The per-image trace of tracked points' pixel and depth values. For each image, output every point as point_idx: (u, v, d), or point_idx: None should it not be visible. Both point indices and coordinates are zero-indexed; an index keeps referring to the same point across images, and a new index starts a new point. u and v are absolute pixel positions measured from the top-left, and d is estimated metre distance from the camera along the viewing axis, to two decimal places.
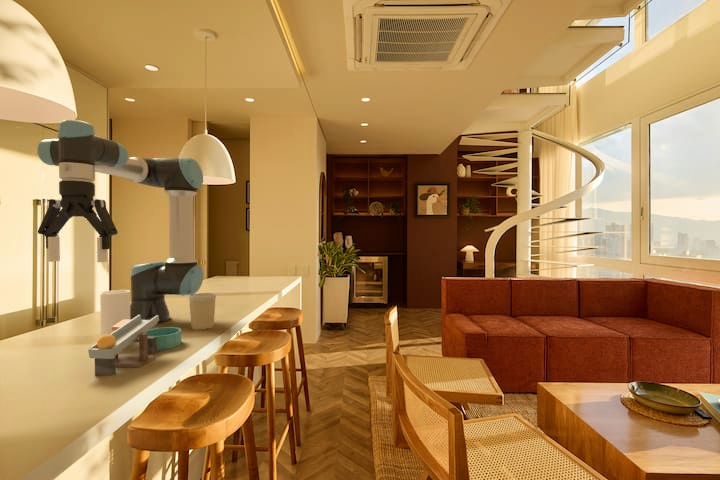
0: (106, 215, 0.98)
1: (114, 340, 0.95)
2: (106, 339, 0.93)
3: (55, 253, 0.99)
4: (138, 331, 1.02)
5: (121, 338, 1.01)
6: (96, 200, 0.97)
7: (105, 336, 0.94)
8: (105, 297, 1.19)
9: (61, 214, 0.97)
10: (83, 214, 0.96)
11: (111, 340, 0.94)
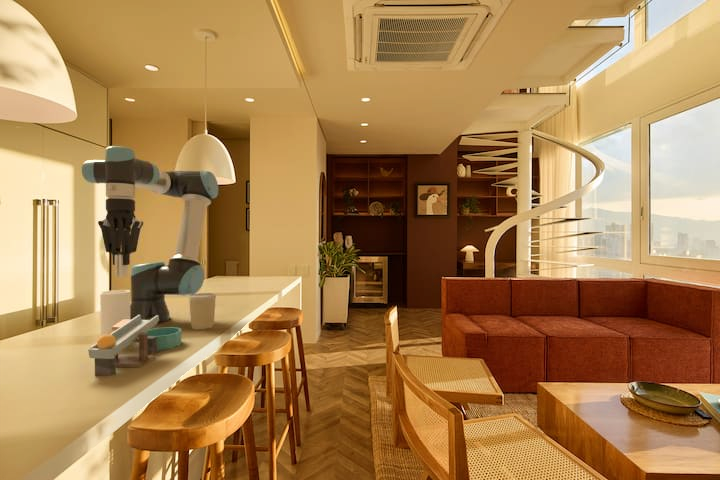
0: (136, 236, 1.13)
1: (114, 340, 0.95)
2: (106, 339, 0.93)
3: None
4: (138, 331, 1.02)
5: (121, 338, 1.01)
6: (136, 222, 1.12)
7: (105, 336, 0.94)
8: (105, 297, 1.19)
9: (113, 229, 1.12)
10: (120, 229, 1.12)
11: (111, 340, 0.94)
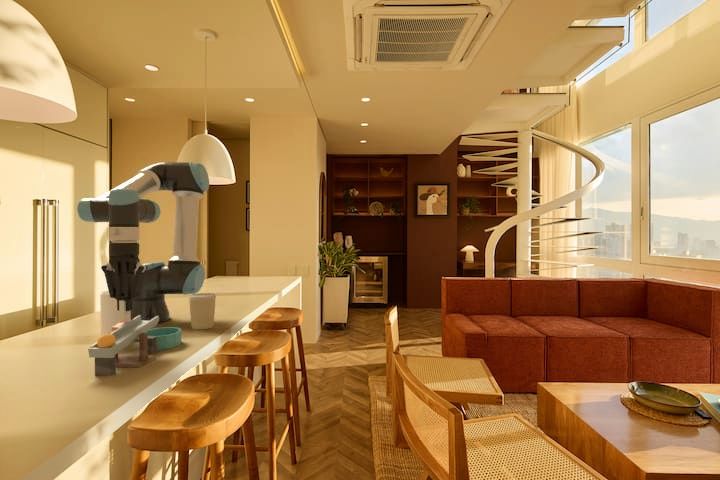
0: (140, 280, 1.09)
1: (114, 339, 0.95)
2: (106, 338, 0.93)
3: None
4: (138, 331, 1.02)
5: (121, 338, 1.01)
6: (141, 267, 1.08)
7: (105, 335, 0.94)
8: (105, 297, 1.19)
9: (117, 274, 1.08)
10: (124, 274, 1.08)
11: (111, 340, 0.94)
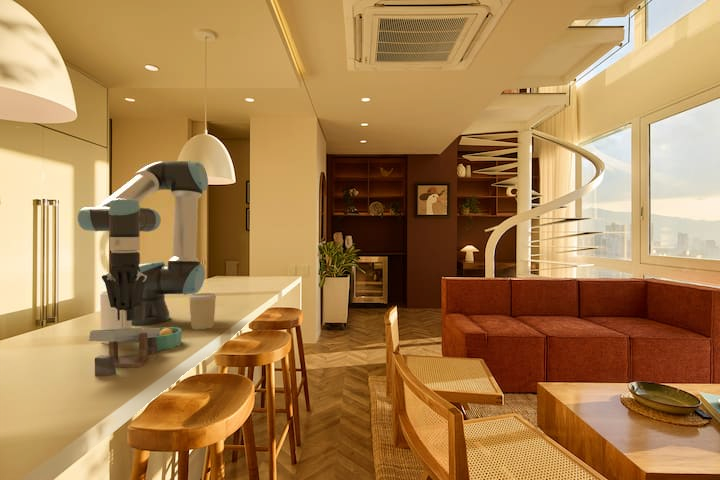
0: (141, 290, 1.10)
1: None
2: None
3: None
4: (140, 331, 1.03)
5: None
6: (141, 277, 1.08)
7: None
8: (105, 297, 1.19)
9: (118, 284, 1.08)
10: (124, 284, 1.08)
11: (172, 332, 1.21)
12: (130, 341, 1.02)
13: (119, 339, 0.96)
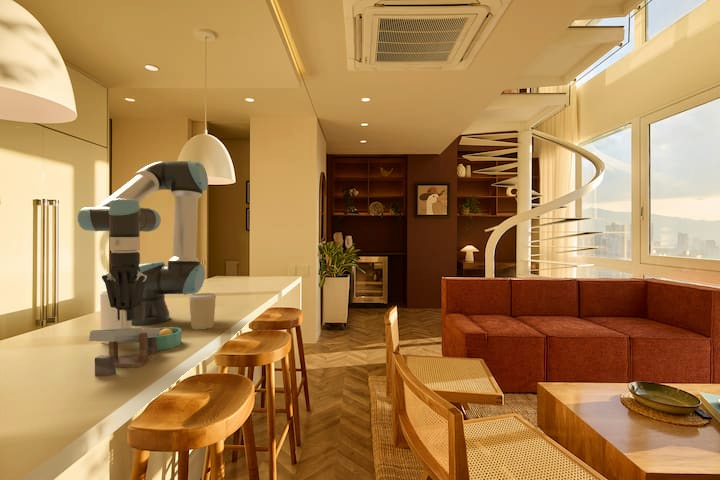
0: (141, 290, 1.10)
1: None
2: None
3: None
4: (140, 331, 1.03)
5: None
6: (141, 277, 1.08)
7: None
8: (105, 297, 1.19)
9: (118, 284, 1.08)
10: (125, 284, 1.08)
11: (172, 332, 1.21)
12: (130, 341, 1.02)
13: (119, 339, 0.96)
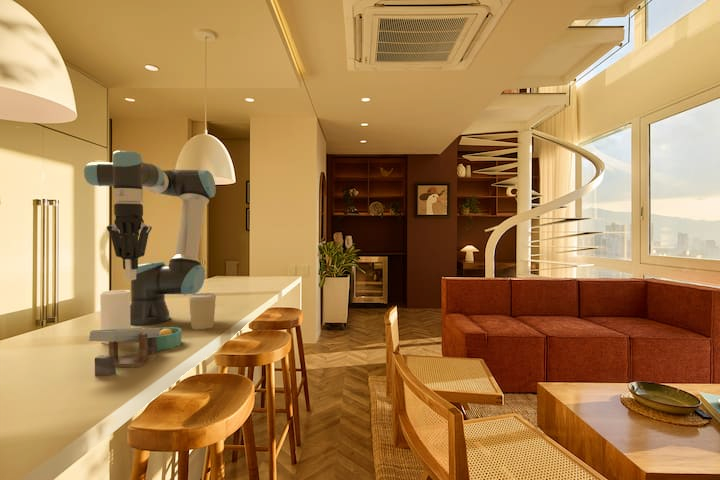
0: (144, 240, 1.14)
1: None
2: None
3: None
4: (140, 331, 1.03)
5: None
6: (145, 227, 1.12)
7: None
8: (105, 297, 1.19)
9: (123, 234, 1.12)
10: (129, 234, 1.12)
11: (171, 332, 1.21)
12: (130, 341, 1.02)
13: (119, 339, 0.96)
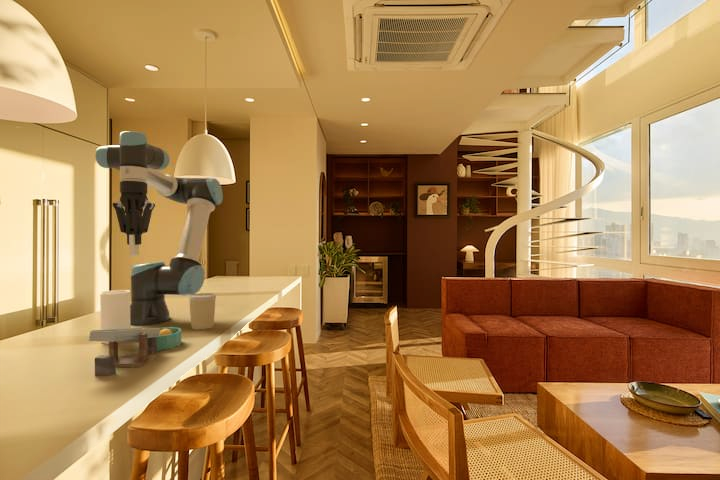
0: (148, 217, 1.19)
1: None
2: None
3: None
4: (140, 331, 1.03)
5: None
6: (149, 204, 1.18)
7: None
8: (105, 297, 1.19)
9: (127, 210, 1.18)
10: (133, 210, 1.18)
11: (171, 332, 1.20)
12: (130, 341, 1.02)
13: (119, 339, 0.96)
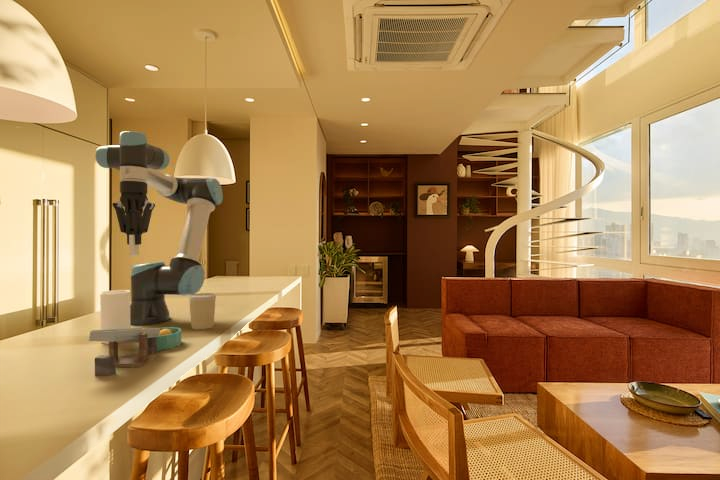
0: (148, 217, 1.19)
1: None
2: None
3: None
4: (140, 331, 1.03)
5: None
6: (149, 204, 1.18)
7: None
8: (105, 297, 1.19)
9: (127, 210, 1.18)
10: (133, 210, 1.18)
11: (171, 332, 1.20)
12: (130, 341, 1.02)
13: (119, 339, 0.96)
